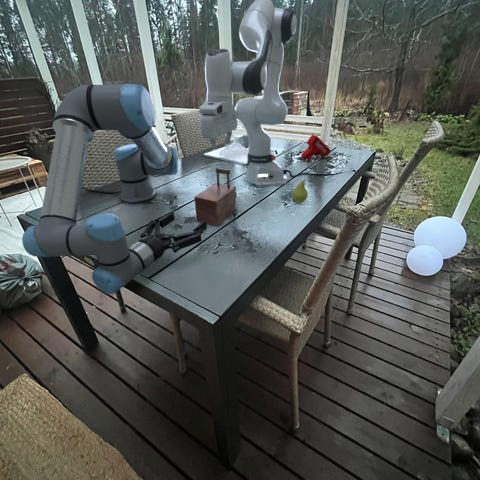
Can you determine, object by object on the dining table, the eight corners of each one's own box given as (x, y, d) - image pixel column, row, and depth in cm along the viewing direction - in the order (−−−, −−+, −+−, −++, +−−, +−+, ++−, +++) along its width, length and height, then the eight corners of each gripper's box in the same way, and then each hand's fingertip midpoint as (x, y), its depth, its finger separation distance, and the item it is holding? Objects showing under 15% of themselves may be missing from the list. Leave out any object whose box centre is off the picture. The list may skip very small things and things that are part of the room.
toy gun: (302, 156, 169) (316, 135, 166) (298, 155, 172) (312, 134, 169) (317, 170, 180) (331, 150, 177) (313, 169, 183) (326, 149, 180)
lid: (216, 185, 115) (215, 165, 110) (236, 188, 111) (235, 169, 106) (194, 199, 103) (192, 178, 98) (216, 203, 99) (215, 182, 94)
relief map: (245, 164, 167) (245, 156, 164) (203, 155, 185) (203, 148, 182) (268, 154, 185) (268, 147, 183) (228, 147, 203) (228, 140, 200)
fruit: (288, 200, 123) (290, 174, 116) (302, 197, 125) (305, 172, 119) (296, 206, 118) (299, 179, 111) (310, 203, 120) (314, 177, 114)
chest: (216, 205, 119) (215, 185, 114) (235, 209, 115) (235, 189, 110) (196, 220, 108) (194, 199, 103) (217, 225, 104) (216, 204, 99)
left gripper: (117, 251, 85) (162, 222, 101) (182, 274, 75) (220, 238, 91) (111, 231, 81) (159, 203, 97) (178, 252, 71) (219, 218, 87)
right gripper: (226, 102, 104) (227, 139, 111) (196, 108, 88) (199, 151, 96) (241, 102, 101) (241, 141, 109) (212, 109, 86) (215, 153, 93)
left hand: (189, 220), depth 94 cm, fingers open, 13 cm apart
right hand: (221, 146), depth 102 cm, fingers open, 8 cm apart
